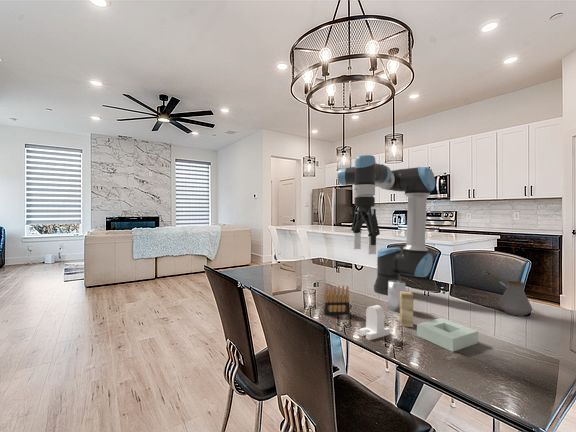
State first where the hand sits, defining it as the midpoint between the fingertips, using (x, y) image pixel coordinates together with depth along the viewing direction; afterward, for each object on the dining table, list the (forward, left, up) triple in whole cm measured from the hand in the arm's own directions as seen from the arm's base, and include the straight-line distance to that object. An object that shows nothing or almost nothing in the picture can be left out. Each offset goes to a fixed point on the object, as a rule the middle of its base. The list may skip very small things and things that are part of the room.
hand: (364, 251), depth 112 cm
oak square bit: (-13, +9, -28) cm, 32 cm away
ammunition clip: (+4, -12, -28) cm, 30 cm away
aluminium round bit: (-23, -5, -28) cm, 36 cm away
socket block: (-15, +24, -28) cm, 40 cm away
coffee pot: (-66, +16, -28) cm, 73 cm away
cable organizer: (+4, +10, -28) cm, 30 cm away
